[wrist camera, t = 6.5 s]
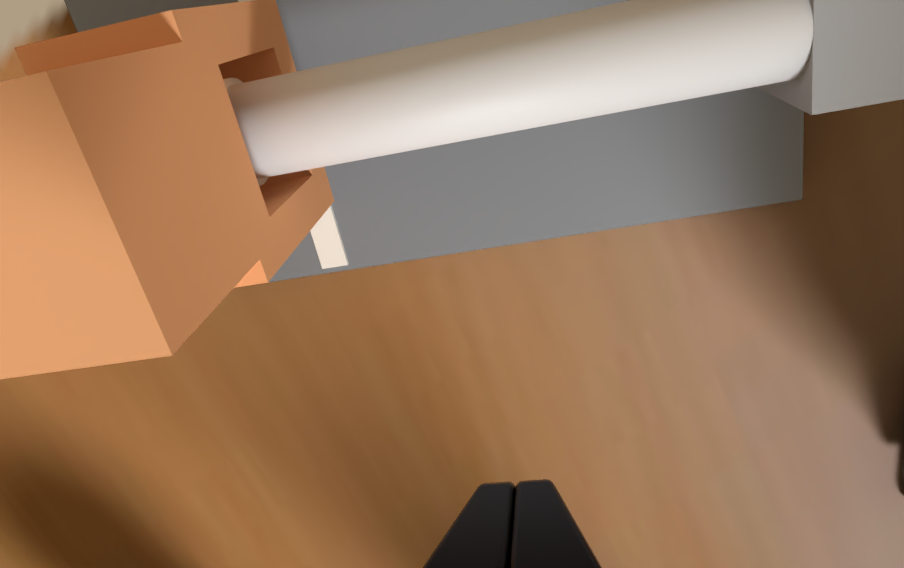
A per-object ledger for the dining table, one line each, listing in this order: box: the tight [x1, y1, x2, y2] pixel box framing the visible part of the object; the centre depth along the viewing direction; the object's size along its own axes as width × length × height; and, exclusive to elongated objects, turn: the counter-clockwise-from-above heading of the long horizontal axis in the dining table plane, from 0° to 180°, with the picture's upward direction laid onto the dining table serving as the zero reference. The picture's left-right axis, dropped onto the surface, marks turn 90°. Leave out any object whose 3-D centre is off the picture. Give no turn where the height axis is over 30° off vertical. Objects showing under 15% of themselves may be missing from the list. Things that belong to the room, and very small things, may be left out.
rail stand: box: [64, 0, 904, 282], centre depth 15 cm, size 18×10×6 cm, turn 102°
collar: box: [0, 0, 334, 379], centre depth 13 cm, size 3×5×8 cm, turn 12°
